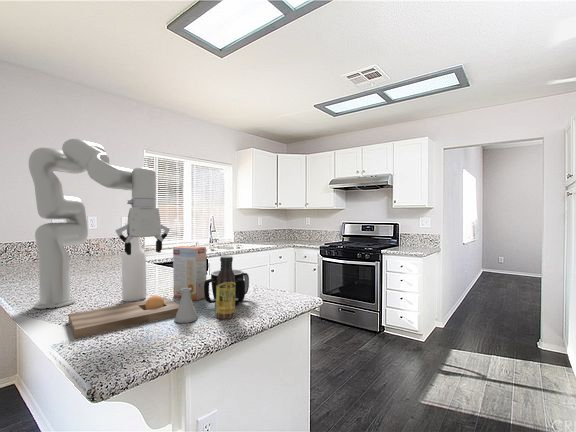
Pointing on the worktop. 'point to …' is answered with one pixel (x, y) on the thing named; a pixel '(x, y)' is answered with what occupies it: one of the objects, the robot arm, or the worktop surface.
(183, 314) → the flask
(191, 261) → the cracker box
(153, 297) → the orange ball
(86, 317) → the board
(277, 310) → the worktop surface
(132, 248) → the alcohol
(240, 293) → the mug
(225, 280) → the sauce bottle
